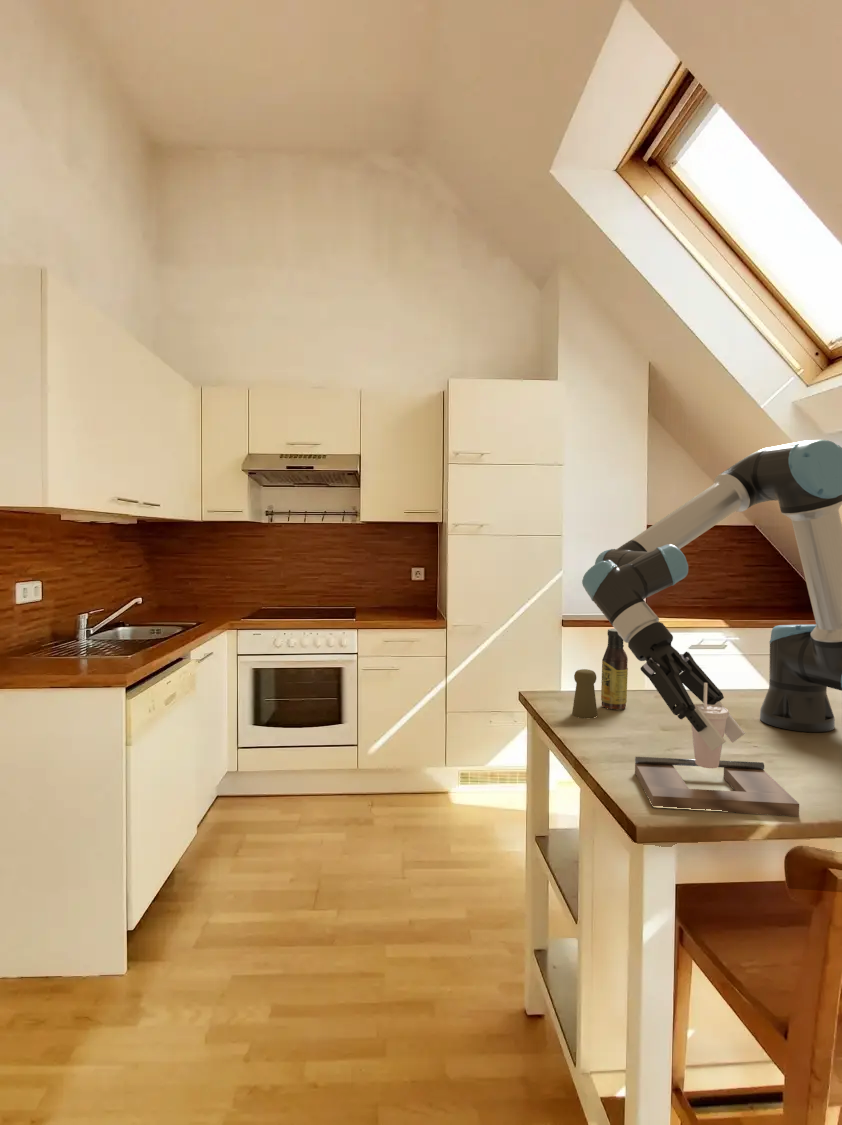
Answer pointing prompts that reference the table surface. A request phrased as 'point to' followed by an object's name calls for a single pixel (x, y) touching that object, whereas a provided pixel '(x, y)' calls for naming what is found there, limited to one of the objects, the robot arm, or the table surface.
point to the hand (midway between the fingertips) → (728, 741)
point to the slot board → (718, 791)
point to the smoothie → (701, 749)
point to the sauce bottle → (614, 673)
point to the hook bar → (692, 763)
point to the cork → (585, 694)
